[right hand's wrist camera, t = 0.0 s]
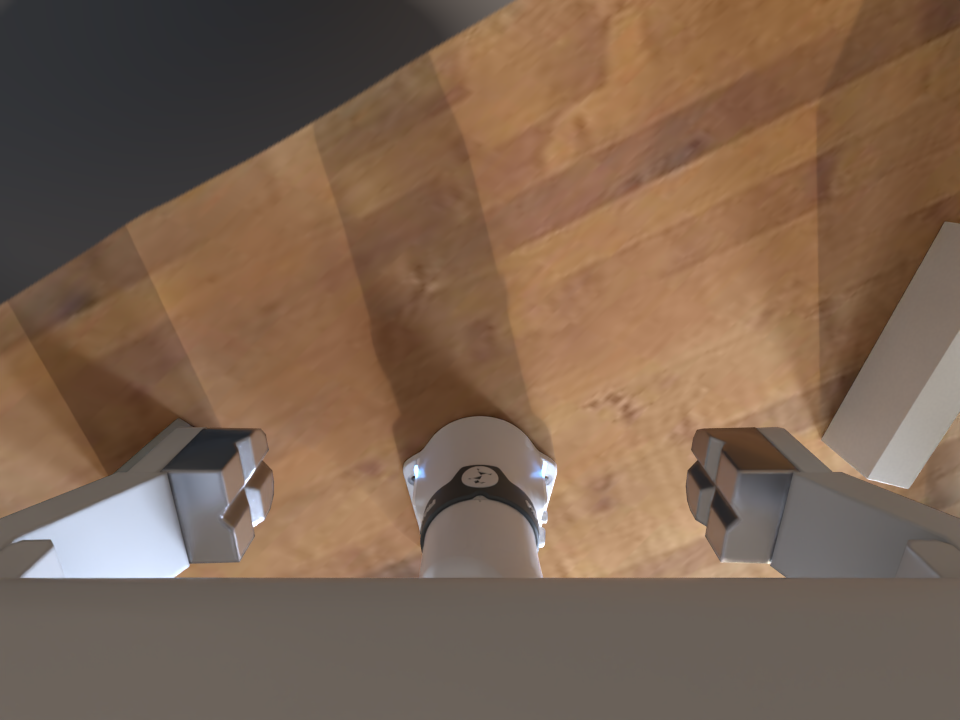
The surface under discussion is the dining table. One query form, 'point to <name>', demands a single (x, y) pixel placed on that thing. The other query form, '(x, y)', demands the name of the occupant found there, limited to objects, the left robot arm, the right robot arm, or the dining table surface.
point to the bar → (907, 376)
